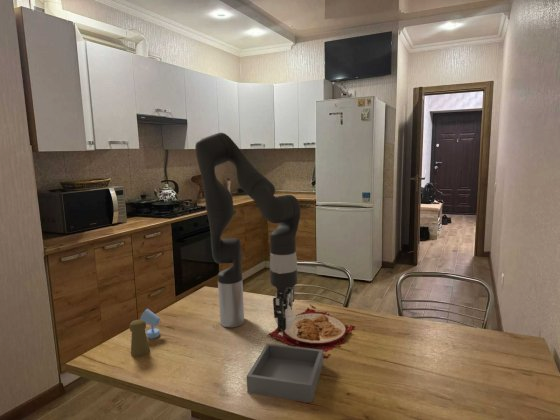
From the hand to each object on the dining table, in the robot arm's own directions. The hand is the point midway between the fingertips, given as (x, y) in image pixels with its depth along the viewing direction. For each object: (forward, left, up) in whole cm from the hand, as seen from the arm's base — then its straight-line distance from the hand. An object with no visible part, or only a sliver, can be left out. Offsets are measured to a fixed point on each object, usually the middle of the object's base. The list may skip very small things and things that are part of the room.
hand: (285, 323), depth 108 cm
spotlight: (-14, -55, -17) cm, 59 cm away
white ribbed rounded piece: (0, 0, -1) cm, 1 cm away
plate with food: (-30, +3, -18) cm, 35 cm away
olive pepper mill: (-3, -52, -17) cm, 55 cm away
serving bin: (0, 0, -17) cm, 17 cm away
